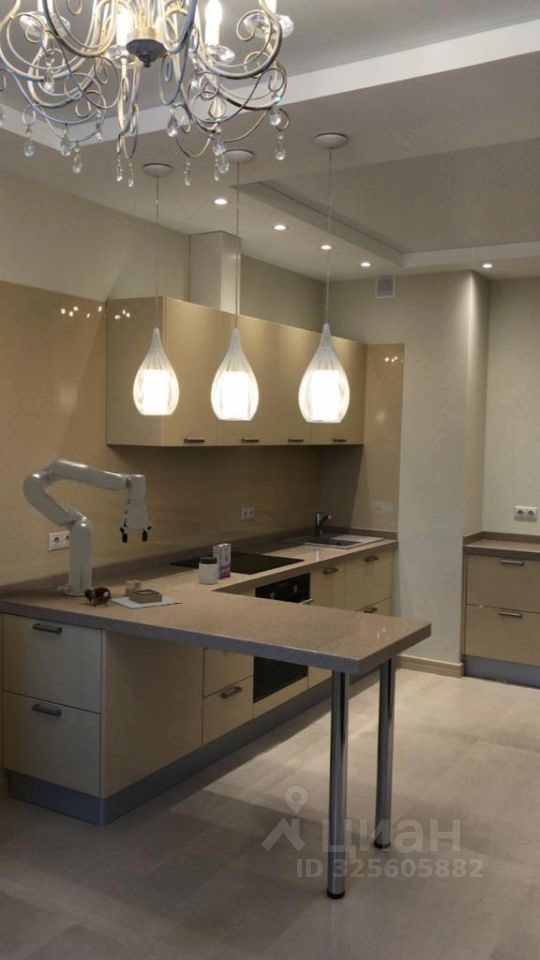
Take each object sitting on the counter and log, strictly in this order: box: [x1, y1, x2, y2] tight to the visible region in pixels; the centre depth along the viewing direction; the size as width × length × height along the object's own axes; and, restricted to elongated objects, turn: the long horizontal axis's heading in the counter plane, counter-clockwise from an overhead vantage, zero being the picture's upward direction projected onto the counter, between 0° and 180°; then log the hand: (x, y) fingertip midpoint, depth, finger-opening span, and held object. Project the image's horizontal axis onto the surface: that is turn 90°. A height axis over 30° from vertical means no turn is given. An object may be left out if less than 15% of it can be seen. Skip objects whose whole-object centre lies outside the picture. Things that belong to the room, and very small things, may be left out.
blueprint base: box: [108, 588, 176, 610], centre depth 352 cm, size 24×20×4 cm
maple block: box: [124, 579, 142, 597], centre depth 367 cm, size 5×5×6 cm
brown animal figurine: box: [84, 586, 113, 607], centre depth 344 cm, size 12×10×8 cm
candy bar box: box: [212, 543, 232, 580], centre depth 419 cm, size 11×5×16 cm, turn 156°
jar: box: [198, 556, 218, 585], centre depth 403 cm, size 9×8×12 cm
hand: (134, 541), depth 366 cm, fingers open, 9 cm apart
